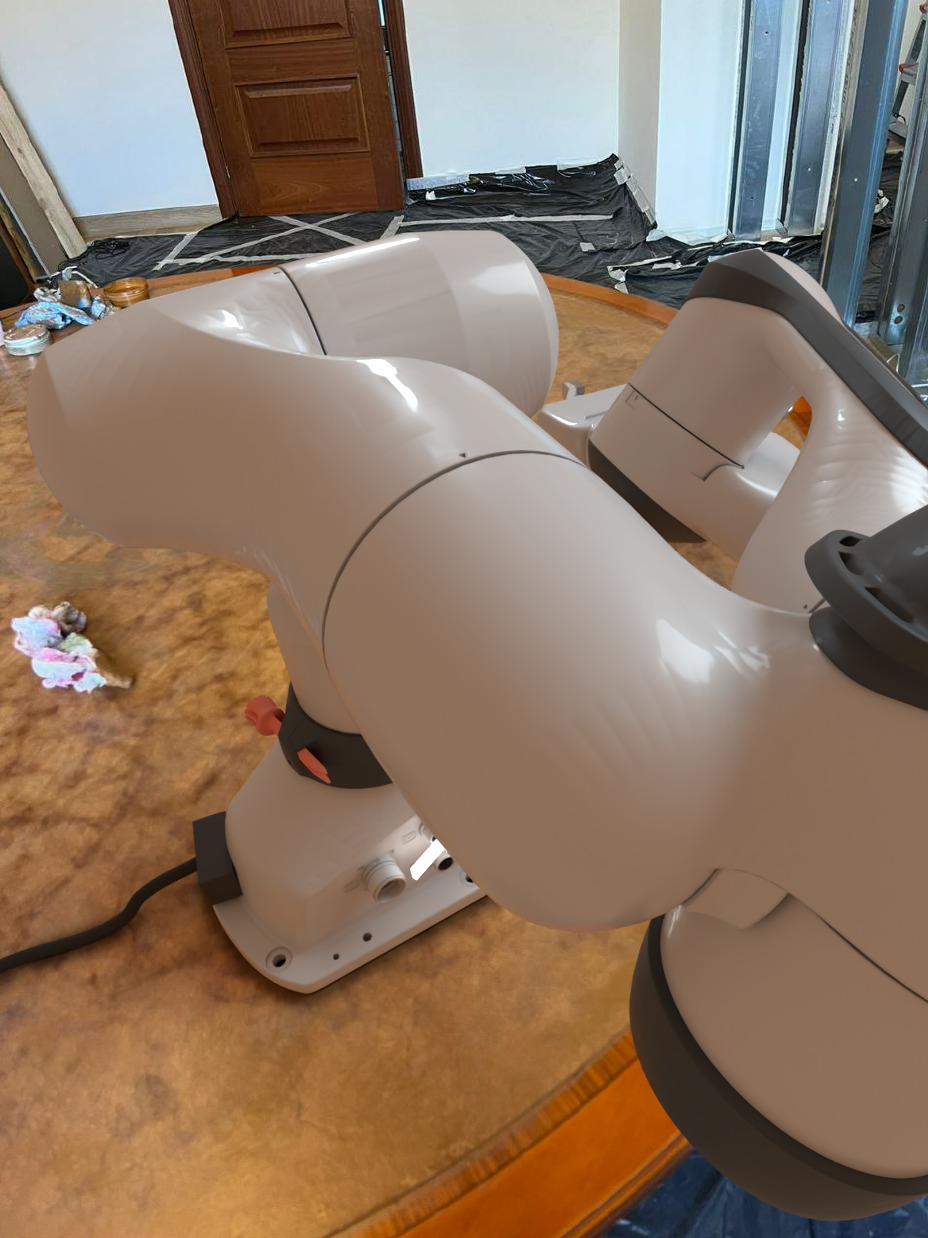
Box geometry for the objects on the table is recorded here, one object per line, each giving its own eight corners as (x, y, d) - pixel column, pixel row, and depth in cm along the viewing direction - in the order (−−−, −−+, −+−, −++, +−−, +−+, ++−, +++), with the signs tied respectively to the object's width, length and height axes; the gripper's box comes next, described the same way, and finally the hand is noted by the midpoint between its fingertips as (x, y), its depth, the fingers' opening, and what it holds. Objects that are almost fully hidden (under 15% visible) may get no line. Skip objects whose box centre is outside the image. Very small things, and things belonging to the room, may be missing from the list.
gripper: (810, 375, 69) (719, 317, 79) (576, 438, 65) (512, 369, 76) (799, 444, 73) (714, 381, 83) (578, 507, 69) (517, 433, 80)
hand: (616, 376), depth 79 cm, fingers open, 8 cm apart
